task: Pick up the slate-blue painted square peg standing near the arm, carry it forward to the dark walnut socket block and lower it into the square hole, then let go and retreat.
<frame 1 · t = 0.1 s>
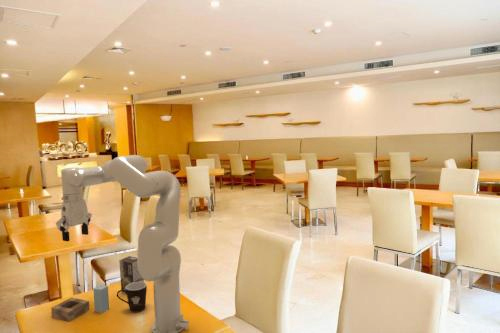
hand: (75, 237, 154), 31 cm above the table, fingers open, 9 cm apart
coffee box: (132, 293, 171), on the table
coffee mug: (134, 308, 156), on the table
socket block: (71, 313, 152), on the table
peg: (102, 309, 155), on the table
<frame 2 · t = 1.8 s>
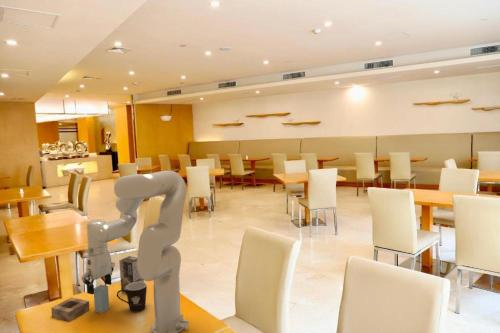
hand: (99, 288, 154), 9 cm above the table, fingers open, 9 cm apart
nothing on the table moved.
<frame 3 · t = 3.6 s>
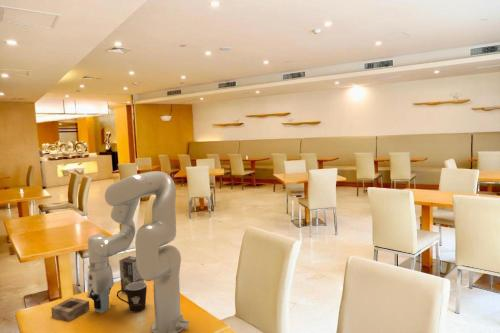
hand: (101, 305, 155), 2 cm above the table, fingers closed on peg, 4 cm apart
peg: (102, 309, 155), on the table, touching gripper
everything else where it was.
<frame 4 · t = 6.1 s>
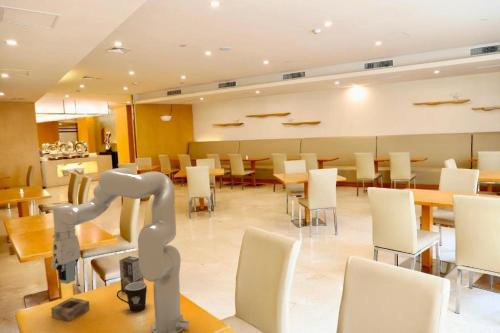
hand: (67, 277, 151), 16 cm above the table, fingers closed on peg, 4 cm apart
peg: (67, 281, 151), point 14 cm above the table, touching gripper
everything else where it was.
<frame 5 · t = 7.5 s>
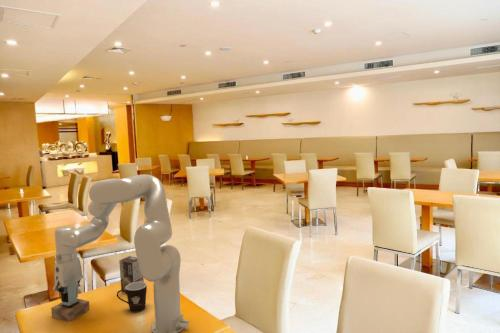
hand: (69, 298, 152), 6 cm above the table, fingers closed on peg, 4 cm apart
peg: (69, 302, 152), point 5 cm above the table, touching gripper
everything else where it was.
when the fingers open (5 cm above the table, at t = 8.6 s): peg drops 3 cm, resting in socket block.
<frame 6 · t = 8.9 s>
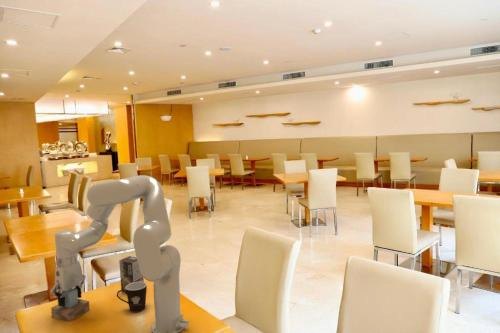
hand: (70, 301, 152), 5 cm above the table, fingers open, 7 cm apart
peg: (71, 313, 152), resting in socket block
everything else where it was.
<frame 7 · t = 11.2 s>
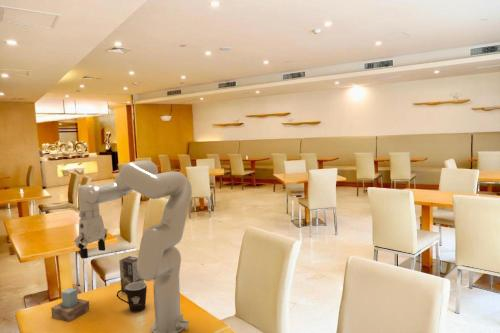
hand: (93, 254, 154), 24 cm above the table, fingers open, 9 cm apart
nothing on the table moved.
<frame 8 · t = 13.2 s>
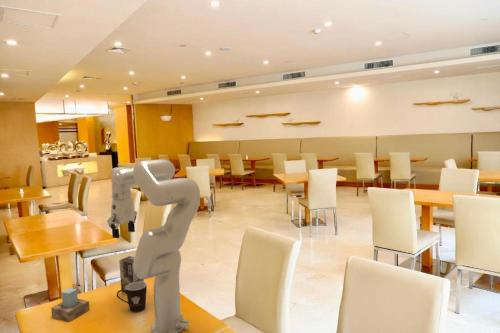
hand: (123, 234, 159), 30 cm above the table, fingers open, 9 cm apart
nothing on the table moved.
at the end: peg 0.1 cm off-centre on the socket block, point 0.0 cm above the socket block's base; peg tilted 0°; the gripper is holding nothing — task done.
